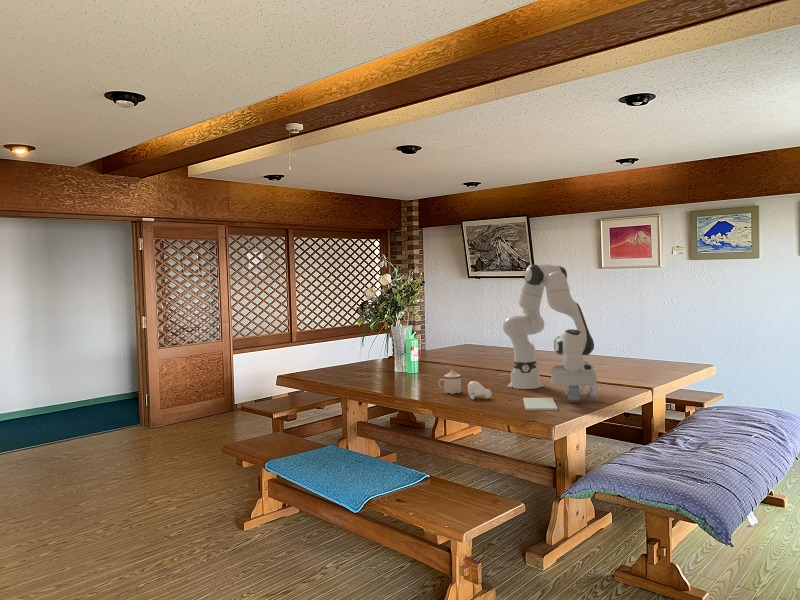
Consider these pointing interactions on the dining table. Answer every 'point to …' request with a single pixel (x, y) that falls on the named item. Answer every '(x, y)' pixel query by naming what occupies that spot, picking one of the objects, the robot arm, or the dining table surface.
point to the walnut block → (572, 400)
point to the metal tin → (592, 393)
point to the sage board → (539, 404)
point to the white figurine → (478, 390)
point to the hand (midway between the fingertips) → (573, 394)
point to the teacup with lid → (451, 383)
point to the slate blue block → (574, 392)
